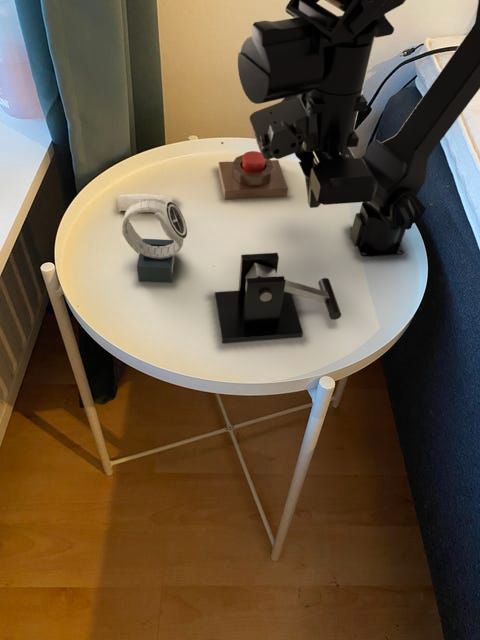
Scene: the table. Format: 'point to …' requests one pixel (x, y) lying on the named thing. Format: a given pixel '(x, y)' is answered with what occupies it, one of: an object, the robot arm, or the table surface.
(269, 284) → the bracket
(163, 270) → the watch
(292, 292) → the lever
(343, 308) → the table surface
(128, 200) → the white curved plate
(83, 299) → the table surface
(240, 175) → the button block
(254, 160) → the button
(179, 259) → the table surface
